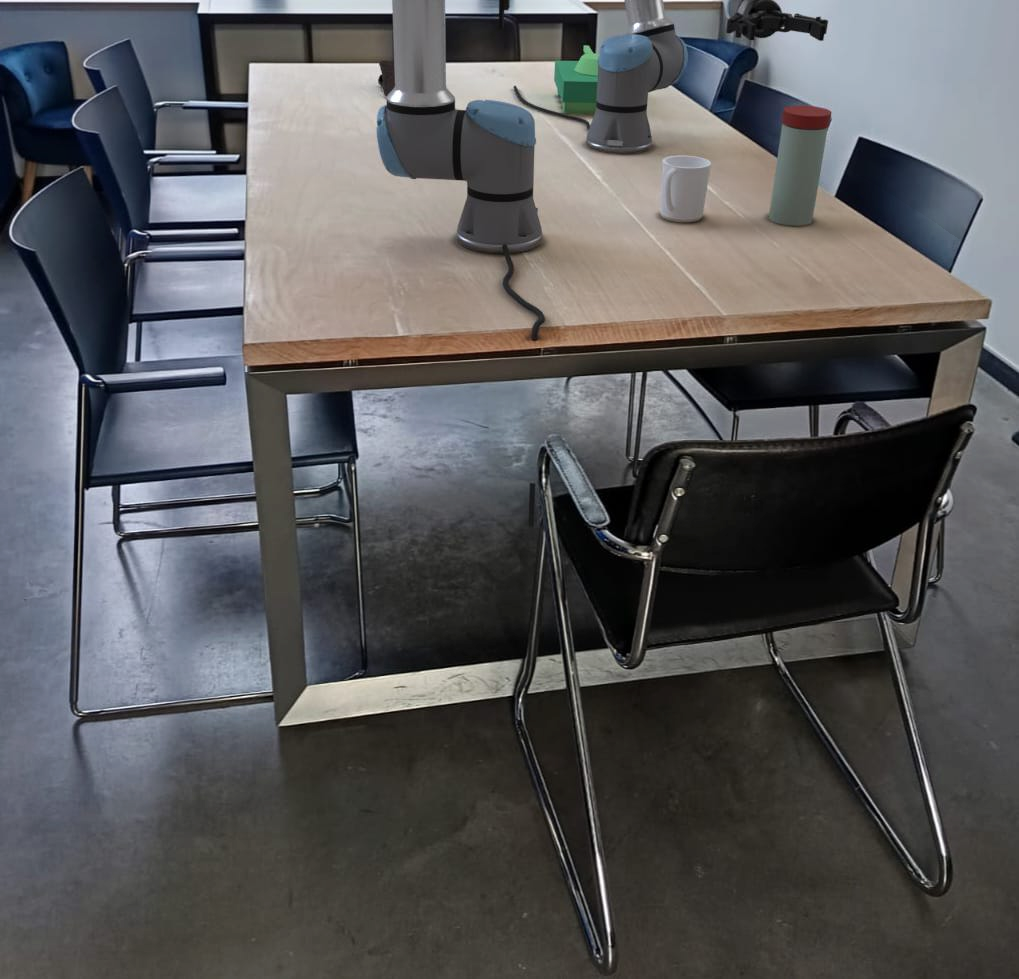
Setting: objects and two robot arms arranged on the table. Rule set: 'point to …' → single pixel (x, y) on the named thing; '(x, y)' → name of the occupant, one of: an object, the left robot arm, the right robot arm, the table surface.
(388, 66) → the axe head
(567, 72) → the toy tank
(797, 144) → the jar
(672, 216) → the mug
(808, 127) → the lid
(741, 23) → the right robot arm
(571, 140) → the table surface
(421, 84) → the left robot arm
